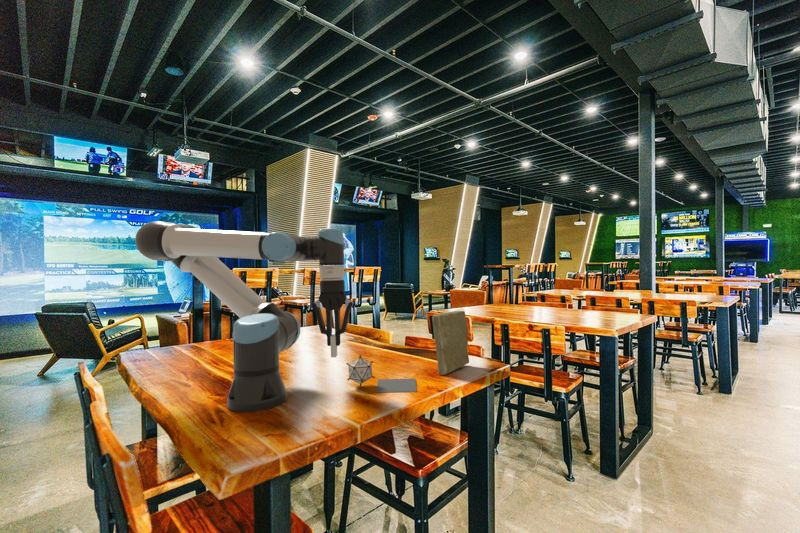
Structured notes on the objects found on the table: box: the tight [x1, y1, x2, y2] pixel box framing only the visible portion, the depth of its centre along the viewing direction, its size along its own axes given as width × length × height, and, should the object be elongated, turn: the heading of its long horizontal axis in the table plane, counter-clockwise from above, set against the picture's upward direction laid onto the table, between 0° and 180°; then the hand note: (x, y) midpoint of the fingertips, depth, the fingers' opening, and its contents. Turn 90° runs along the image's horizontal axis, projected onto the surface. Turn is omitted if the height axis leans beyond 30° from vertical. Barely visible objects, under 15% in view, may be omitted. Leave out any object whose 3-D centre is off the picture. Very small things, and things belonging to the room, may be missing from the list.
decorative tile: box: [431, 310, 470, 376], centre depth 130 cm, size 19×6×20 cm, turn 143°
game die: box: [346, 354, 376, 387], centre depth 112 cm, size 9×8×10 cm
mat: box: [375, 378, 418, 394], centre depth 112 cm, size 12×12×1 cm
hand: (334, 356), depth 112 cm, fingers closed
